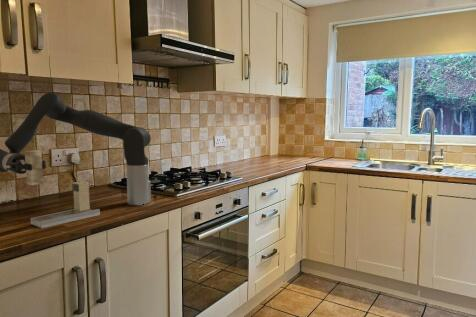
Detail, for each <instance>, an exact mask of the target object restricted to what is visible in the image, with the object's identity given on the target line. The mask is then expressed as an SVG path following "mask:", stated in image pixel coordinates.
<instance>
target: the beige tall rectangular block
mask: <svg viewBox="0 0 476 317" xmlns="http://www.w3.org/2000/svg"><path fill="white" fill-rule="evenodd" d="M24 155H25V163H26V164H32V170H31V171H29V170H26V173H25V175H26V176H25V178H26V179H25V180H26V185H29V186H38V185H43V184H44V174H43V173H44V172H43V170H44V169H42V160H44V158H43V156H44V155H43V151H42V150H24Z"/></svg>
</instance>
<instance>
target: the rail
mask: <svg viewBox="0 0 476 317" xmlns="http://www.w3.org/2000/svg"><path fill="white" fill-rule="evenodd" d="M71 185H72V191H73V192H72V193H73V209H68V210H63V211H59V212H54V213H49V214H45V215H39V216H35V217H34V216H33V217H30V225H33V226H35V227H38V228H40V229H44V228H49V227H53V226H57V225H62V224H67V223H71V222H75V221H80V220H84V219H88V218H92V217H97V216H100V215H101V209H100V208H95V209H91V206H90V186H89V181H84V180H81V181H75V182H72V184H71Z"/></svg>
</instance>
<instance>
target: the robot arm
mask: <svg viewBox="0 0 476 317" xmlns="http://www.w3.org/2000/svg"><path fill="white" fill-rule="evenodd" d="M45 116H46V117H47V118H50V119H52V120H54V121H58V122H62V123H66V124H70V125H72V126H75V127H77V128H79V129H83V130H86V131H87V132H90V133H93V134H96V135H99V136H102V137H103V136H104V137H109V138H114V139H115V138H116V139H118V140H121V141H122V143H123V145H122V146H123V155H124V159H125V161H126V162H125V163H126V164H125V165H126V192H127V197H126V198H127V205H129V206H143V204H144V205H147V203H148V204H149V203H152V190H151V188H152V186H151V185H152V184H151V183H152V182H151V180H150V178H149V174H150V172H149V158H148V157H147V156H146V154H145V147H147V146H148V145H149V144H150V143H151V140H152V139H151V138H152V137H151V134H150V132H149V131H148V130H147V129H145V128H144V127H139V126H136V125H131V124H128V123H124V122H122V121H120V120H118V119H116V118H113V117H111V116H108V115H105V114H103V113H101V112H98V111H95V110H91V109H84V110H83V109H81V110H78V109H75V108H72V107H70V106H68V105H66V104H65V103H64V102H63V100H62V99H61V97H60V96H59V95H58V94H57V93H55V92H46V93H44V94H42V95H41V97H39V99H38V100H37V101H36V103H35V104H34V106H33V107H32V109H31V110H30V111H29V113H28V115H27V116H26V117H25V118H24V120H23V121H22V122H21V124H20V125H19V126H18V127H17V129H15V130H14V132H12V134H10V136H9V137H8V138H7V139H5V141H4V145H5V147H6V148H7V149H8V151H9V152H8V151H6V150H3V149H1V148H0V173H6V172H9V173H13V174H17V175H23V174H26V170H29V171H31V170H32V164H26V163H25V153H24V154H23V153H21V152H22V151H23V150H24V149H25V148H26V147H27V145H28V144H29V143H30V142H31V141H32V140H33V138H34V136H35V135H36V132H37V129H38V127H39V125H40V123H41V121H42V119H43V118H44V117H45ZM46 163H47V161H46V160H45V159H42V170H45V169H46V168H47V164H46Z"/></svg>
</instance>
